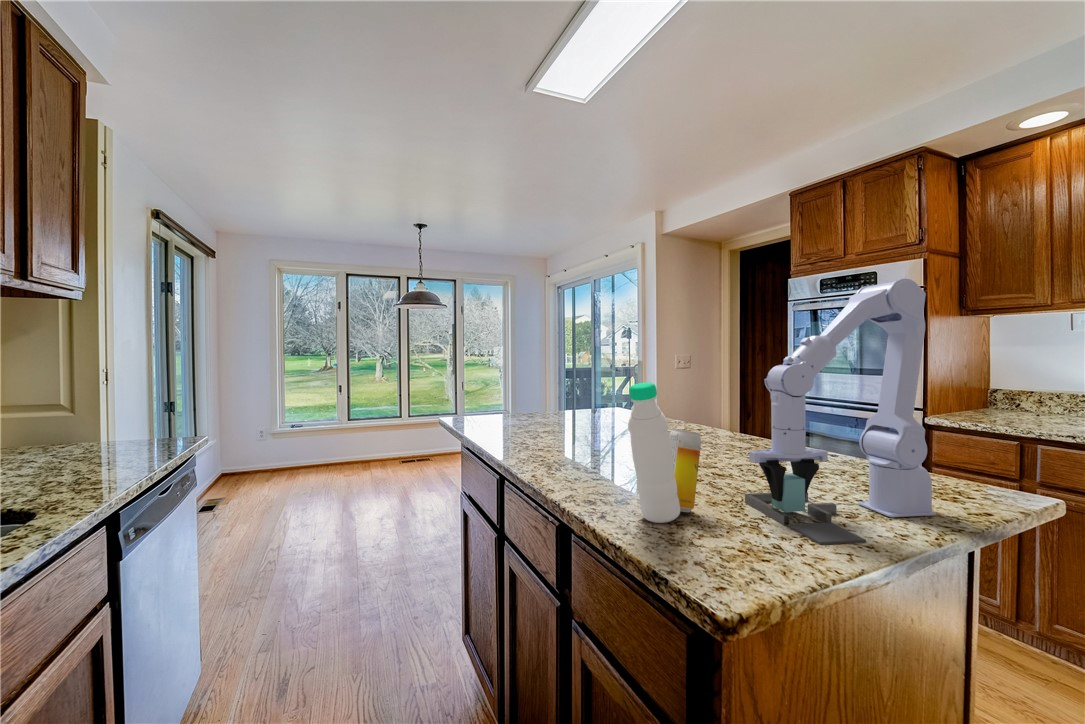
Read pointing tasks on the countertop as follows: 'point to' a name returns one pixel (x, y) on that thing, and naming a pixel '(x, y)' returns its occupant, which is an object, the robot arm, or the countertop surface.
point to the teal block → (792, 494)
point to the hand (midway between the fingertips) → (788, 499)
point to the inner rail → (822, 511)
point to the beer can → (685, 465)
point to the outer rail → (767, 506)
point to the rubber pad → (826, 533)
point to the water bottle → (652, 456)
